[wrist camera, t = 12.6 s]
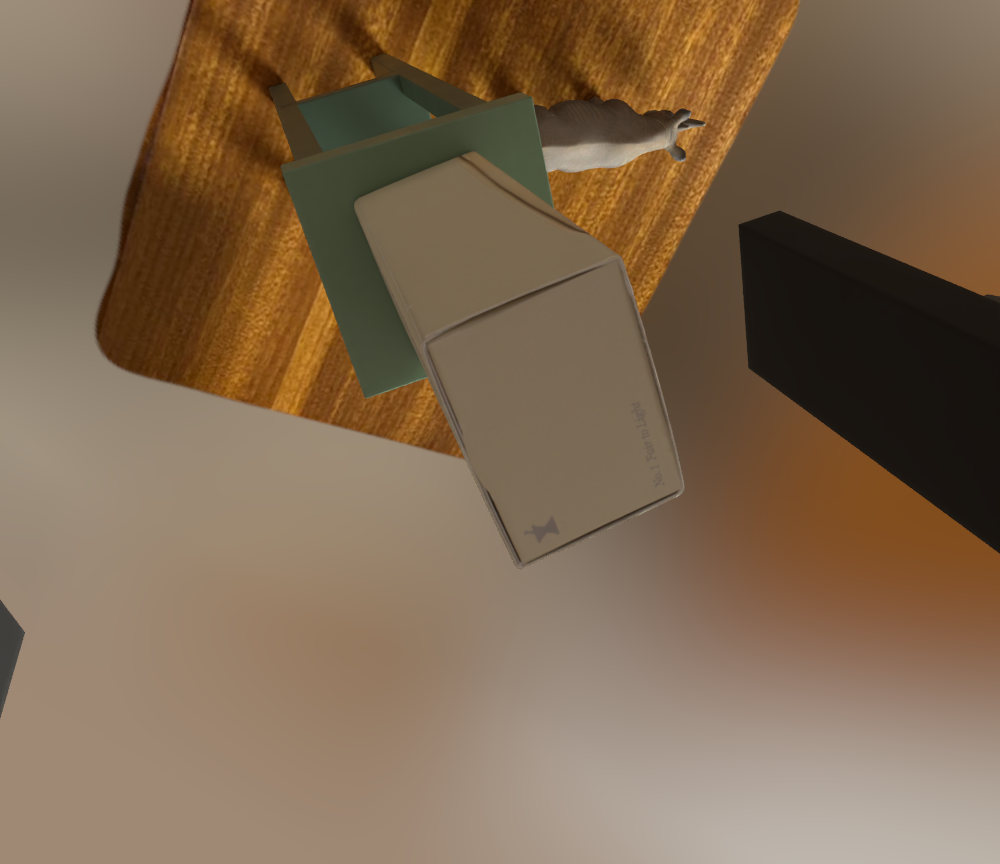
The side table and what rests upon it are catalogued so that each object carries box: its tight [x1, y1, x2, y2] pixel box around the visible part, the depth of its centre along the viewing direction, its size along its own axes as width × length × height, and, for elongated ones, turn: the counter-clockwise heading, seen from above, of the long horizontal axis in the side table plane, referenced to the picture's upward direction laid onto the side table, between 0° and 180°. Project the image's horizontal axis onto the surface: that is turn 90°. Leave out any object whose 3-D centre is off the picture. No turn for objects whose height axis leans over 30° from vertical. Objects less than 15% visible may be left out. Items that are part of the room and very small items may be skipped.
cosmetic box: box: [354, 151, 684, 569], centre depth 22 cm, size 6×4×12 cm
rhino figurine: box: [534, 97, 706, 172], centre depth 50 cm, size 4×14×6 cm, turn 90°
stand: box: [269, 54, 487, 161], centre depth 38 cm, size 7×7×25 cm
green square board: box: [281, 93, 554, 398], centre depth 28 cm, size 8×8×1 cm
